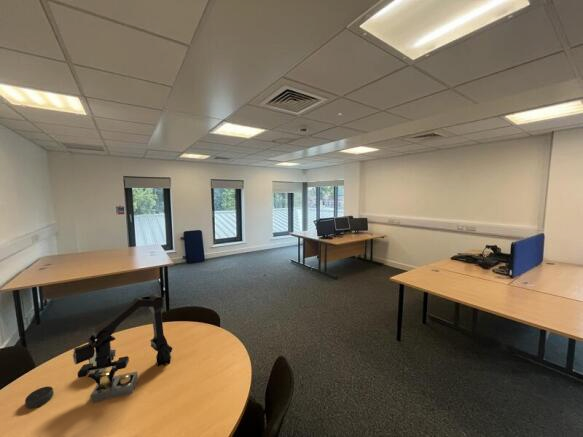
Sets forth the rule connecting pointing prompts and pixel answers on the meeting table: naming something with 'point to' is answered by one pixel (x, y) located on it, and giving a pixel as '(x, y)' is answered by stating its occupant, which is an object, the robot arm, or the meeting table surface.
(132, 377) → the jig
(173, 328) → the meeting table surface
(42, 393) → the smart speaker
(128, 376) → the dull gold rounded cylinder
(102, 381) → the brass domed cylinder
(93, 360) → the pneumatic valve
